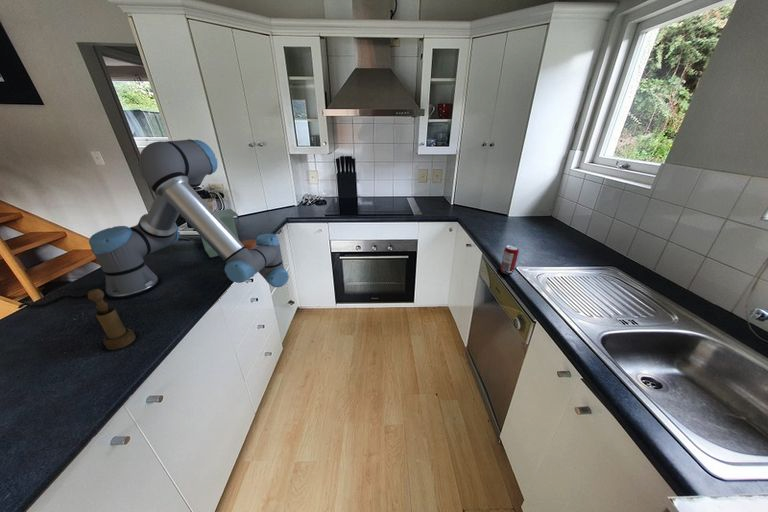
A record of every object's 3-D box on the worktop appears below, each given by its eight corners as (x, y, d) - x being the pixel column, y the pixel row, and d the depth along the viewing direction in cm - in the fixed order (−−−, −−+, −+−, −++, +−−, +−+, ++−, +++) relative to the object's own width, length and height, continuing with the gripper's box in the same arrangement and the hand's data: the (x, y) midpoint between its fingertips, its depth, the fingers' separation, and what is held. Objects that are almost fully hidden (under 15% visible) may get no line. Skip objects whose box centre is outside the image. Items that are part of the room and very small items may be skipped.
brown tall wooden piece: (141, 334, 83) (116, 283, 75) (124, 350, 77) (95, 297, 69) (119, 334, 83) (91, 284, 75) (99, 350, 77) (67, 297, 69)
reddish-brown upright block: (248, 266, 121) (243, 246, 117) (243, 261, 125) (238, 241, 121) (262, 262, 125) (258, 242, 120) (258, 257, 129) (253, 238, 125)
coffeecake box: (221, 239, 150) (211, 204, 142) (206, 240, 148) (195, 205, 139) (224, 230, 163) (215, 197, 154) (210, 231, 160) (201, 198, 152)
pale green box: (210, 258, 128) (199, 221, 120) (205, 250, 136) (194, 214, 128) (246, 249, 138) (237, 214, 130) (239, 242, 146) (230, 208, 138)
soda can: (512, 269, 122) (518, 244, 117) (514, 275, 117) (520, 250, 112) (499, 267, 123) (504, 243, 118) (500, 273, 118) (506, 248, 113)
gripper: (241, 280, 106) (226, 260, 122) (289, 265, 118) (269, 248, 133) (237, 264, 103) (221, 245, 119) (286, 250, 114) (266, 234, 130)
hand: (247, 247), depth 126 cm, fingers closed on reddish-brown upright block, 6 cm apart
